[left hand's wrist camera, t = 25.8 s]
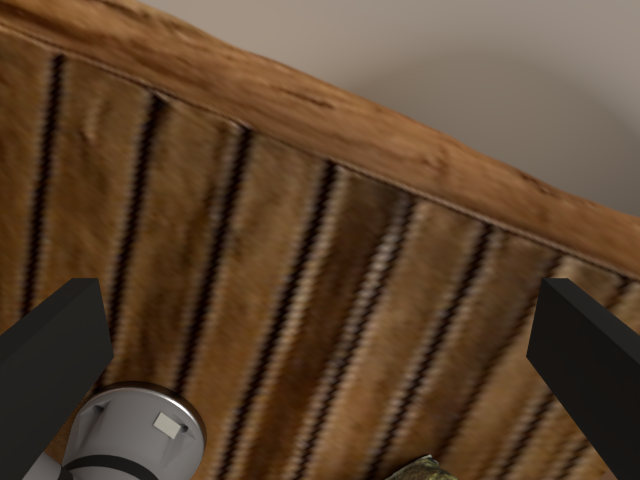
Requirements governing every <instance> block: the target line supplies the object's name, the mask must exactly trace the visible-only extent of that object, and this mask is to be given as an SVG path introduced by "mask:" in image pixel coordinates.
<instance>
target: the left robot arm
mask: <svg viewBox="0 0 640 480" xmlns="http://www.w3.org/2000/svg"><path fill="white" fill-rule="evenodd" d="M113 357H114V355H113V350H112V345H111V340H110V335H109V330H108V325H107V320H106V315H105V311H104V306H103V301H102V296H101V291H100V286H99V281H98V278H72V279H71V280H69V281H68V282H67V283H66V284H64V285H63V286H62V287H61V288H59V289H58V290H57V291H56V292H54V293H53V294H52V295H51V296H49V297H48V298H47V299H46V300H44V301H43V302H42V303H41V304H39V305H38V306H37V307H36V308H34V309H33V310H32V311H31V312H29V313H28V314H27V315H26V316H24V317H23V318H22V319H21V320H19V321H18V322H17V323H16V324H14V325H13V326H12V327H11V328H9V329H8V330H7V331H6V332H4V333H3V334H2V335H1V336H0V480H190V478H191V477H192V476H193V474H194V473H195V471H196V470H197V468H198V466H199V464H200V462H201V460H202V457H203V453H204V450H205V447H206V442H207V434H206V428H205V425H204V422H203V420H202V418H201V416H200V415H199V413H198V412H197V410H196V409H195V408H194V407H193V406H192V405H191V404H190V403H189V402H188V401H187V400H186V399H184V398H183V397H182V396H180V395H179V394H177V393H175V392H173V391H172V390H169V389H167V388H165V387H162V386H159V385H155V384H151V383H146V382H122V383H117V384H113V385H110V386H107V387H105V388H103V389H101V390H99V391H97V392H96V393H95V394H93V395H92V396H91V397H90V398H89V399H88V400H87V402H86V403H85V404H84V406H83V407H82V408H81V410H80V411H79V413H78V414H77V416H76V418H75V421H74V423H73V425H72V428H71V432H70V436H69V440H68V443H67V447H66V451H65V455H64V458H63V462H62V466H61V465H60V464H59V463H58V462H57V461H55V460H54V459H53V458H51V457H50V456H49V455H47V454H46V453H45V452H43V451H44V450H45V448H46V447H47V446H48V444H49V443H50V442H51V440H52V439H53V438H54V436H55V435H56V434H57V432H58V431H59V430H60V428H61V427H62V426H63V424H64V423H65V422H66V420H67V419H68V418H69V416H70V415H71V414H72V412H73V411H74V409H75V408H76V407H77V405H78V404H79V403H80V401H81V400H82V399H83V397H84V396H85V395H86V393H87V392H88V391H89V389H90V388H91V387H92V385H93V384H94V383H95V381H96V380H97V379H98V377H99V376H100V375H101V373H102V372H103V371H104V369H105V368H106V367H107V365H108V364H109V363H110V361H111V360H112V359H113ZM526 357H527V359H528V360H529V361H530V363H531V364H532V365H533V367H534V368H535V369H536V371H537V372H538V373H539V375H540V376H541V377H542V379H543V380H544V381H545V383H546V384H547V385H548V387H549V388H550V389H551V391H552V392H553V393H554V395H555V396H556V397H557V399H558V400H559V401H560V403H561V404H562V405H563V407H564V408H565V409H566V411H567V412H568V414H569V415H570V416H571V418H572V419H573V420H574V422H575V423H576V424H577V426H578V427H579V428H580V430H581V431H582V432H583V434H584V435H585V436H586V438H587V439H588V440H589V442H590V443H591V444H592V446H593V447H594V448H595V450H596V451H597V452H598V454H599V455H600V456H601V458H602V459H603V460H604V462H605V463H606V464H607V466H608V467H609V469H610V470H611V471H612V473H613V474H614V475H615V477H616V478H617V479H618V480H640V336H639V335H638V334H637V333H636V332H634V331H633V330H632V329H631V328H629V327H628V326H627V325H626V324H624V323H623V322H622V321H621V320H619V319H618V318H617V317H616V316H614V315H613V314H612V313H611V312H609V311H608V310H607V309H606V308H604V307H603V306H602V305H601V304H599V303H598V302H597V301H596V300H594V299H593V298H592V297H591V296H589V295H588V294H587V293H586V292H584V291H583V290H582V289H581V288H579V287H578V286H577V285H576V284H574V283H573V282H572V281H571V280H569V279H568V278H542V281H541V286H540V291H539V296H538V301H537V306H536V311H535V315H534V320H533V325H532V330H531V335H530V340H529V345H528V350H527V355H526Z"/></svg>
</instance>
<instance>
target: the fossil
mask: <svg viewBox="0 0 640 480" xmlns="http://www.w3.org/2000/svg"><path fill="white" fill-rule="evenodd" d="M385 480H459V479H457V478H456V477H455V476H453V475H452V474H450V473H449V472H447V471H445V470H442V469H440V468H439V464H438V462H437V461H435V460H433V459H432V457H431V455H428V456H425V457H422V458H420V459H417V460H416V461H415V462H413V463H411V464H409V465H407V466H405V467H403V468H402V469H400V470H399V471H397V472H395V473H394V474H393V475H392V476H391V477H389V478H387V479H385Z"/></svg>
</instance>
